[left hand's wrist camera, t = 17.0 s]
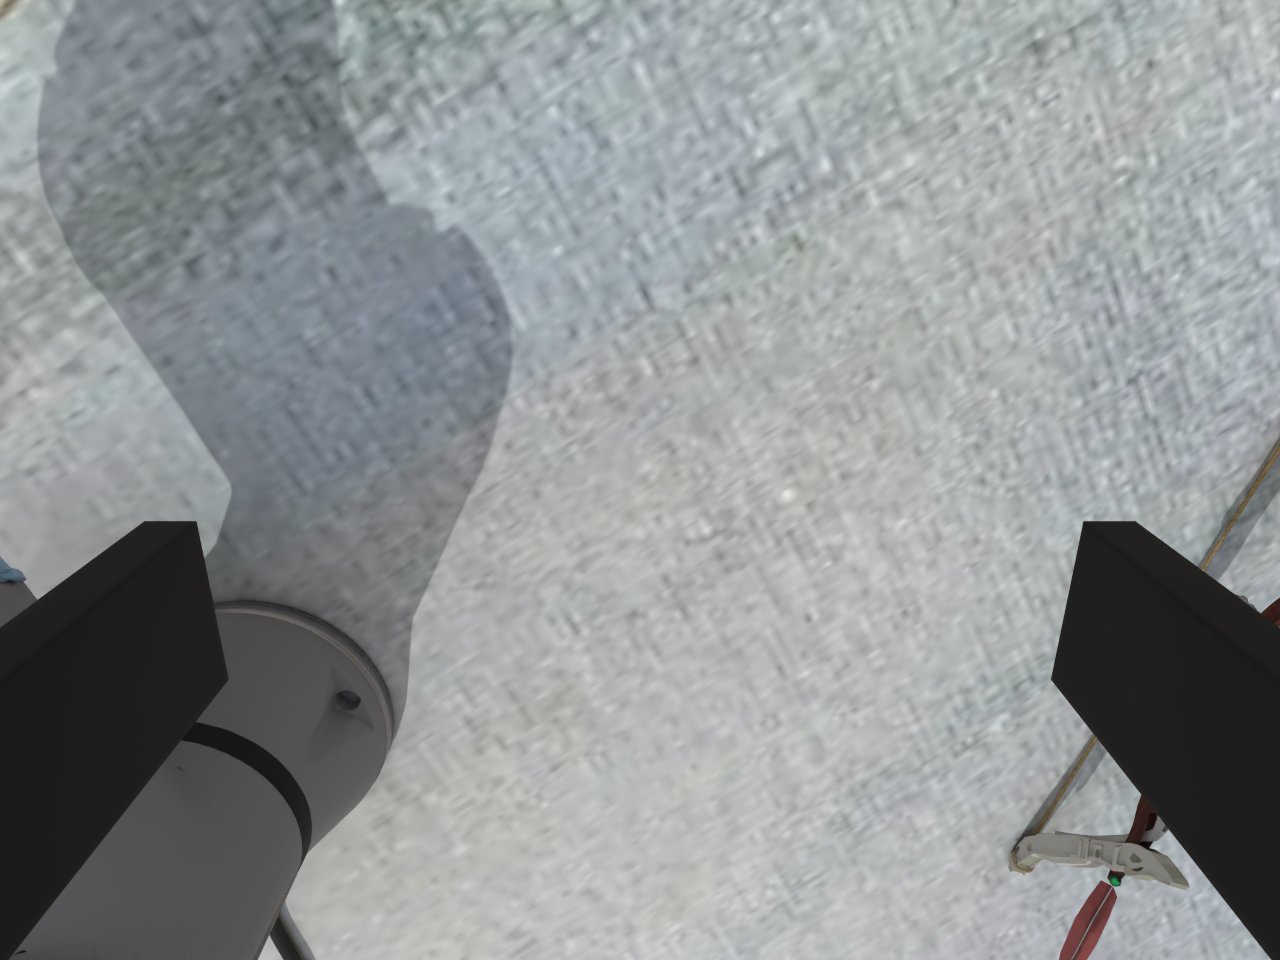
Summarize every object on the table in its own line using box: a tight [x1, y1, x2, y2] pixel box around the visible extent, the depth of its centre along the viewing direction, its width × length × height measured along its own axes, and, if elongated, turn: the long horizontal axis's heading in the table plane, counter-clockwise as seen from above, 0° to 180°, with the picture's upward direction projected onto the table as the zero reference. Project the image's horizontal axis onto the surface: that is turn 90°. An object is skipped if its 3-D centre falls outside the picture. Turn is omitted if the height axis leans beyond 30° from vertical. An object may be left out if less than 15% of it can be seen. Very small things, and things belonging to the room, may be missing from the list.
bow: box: [1008, 444, 1280, 960], centre depth 44 cm, size 39×2×10 cm, turn 162°
